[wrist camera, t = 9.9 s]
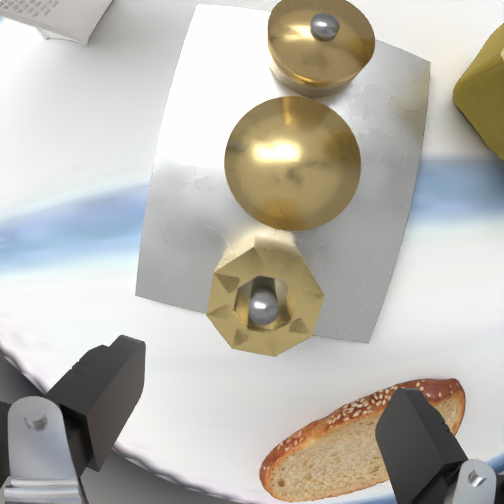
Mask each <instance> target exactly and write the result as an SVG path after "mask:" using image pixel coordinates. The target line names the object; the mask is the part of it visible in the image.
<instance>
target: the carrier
mask: <svg viewBox="0 0 504 504" xmlns="http://www.w3.org/2000/svg"><path fill="white" fill-rule="evenodd" d="M429 79H430V62H429V61H426V60H424V59H422V58H420V57H418V56H416V55H413V54H411V53H409V52H406V51H404V50H402V49H399V48H397V47H394V46H392V45H389V44H387V43H384V42H381V41H378V40H376V39H375V36H374V32H373V29H372V27H371V25H370V23H369V21H368V20H367V18H366V17H365V16H364V14H363V13H362V12H361V11H360V10H359V9H357V8H356V7H355V6H354V5H352V4H351V3H349V2H348V1H346V0H282V1H280V2H279V3H278V4H277V5H276V6H275V7H274V8H273V10H272V12H267V11H260V10H253V9H245V8H236V7H226V6H213V5H197V8H196V11H195V13H194V16H193V19H192V22H191V25H190V28H189V31H188V34H187V37H186V40H185V43H184V46H183V49H182V52H181V55H180V59H179V62H178V65H177V69H176V72H175V76H174V79H173V83H172V87H171V90H170V94H169V98H168V102H167V106H166V110H165V114H164V118H163V122H162V126H161V131H160V135H159V140H158V144H157V149H156V154H155V159H154V164H153V169H152V174H151V180H150V185H149V191H148V197H147V203H146V209H145V216H144V223H143V230H142V237H141V245H140V253H139V262H138V272H137V282H136V294H135V296H139V297H143V298H146V299H150V300H154V301H158V302H162V303H165V304H169V305H173V306H177V307H181V308H186V309H190V310H194V311H198V312H202V313H207V307H208V301H209V295H210V290H211V284H212V278H213V273H214V271H215V269H216V267H217V265H218V264H219V262H220V260H221V258H222V256H223V255H225V254H226V253H228V252H229V251H231V250H232V249H234V248H236V247H237V246H239V245H240V244H242V243H243V242H245V241H246V240H248V239H250V238H251V237H253V236H254V235H259V236H264V237H269V238H274V239H278V240H283V241H288V242H292V243H294V244H295V245H296V247H297V248H298V250H299V251H300V253H301V255H302V256H303V258H304V259H305V261H306V263H307V264H308V266H309V267H310V269H311V271H312V272H313V274H314V276H315V277H316V279H317V281H318V283H319V285H320V287H321V289H322V291H323V292H324V294H325V296H324V300H323V303H322V307H321V310H320V313H319V316H318V320H317V323H316V326H315V329H314V333H313V335H317V336H323V337H330V338H336V339H342V340H349V341H356V342H363V343H368V342H369V340H370V337H371V335H372V332H373V329H374V327H375V324H376V321H377V318H378V316H379V313H380V310H381V307H382V304H383V301H384V298H385V295H386V292H387V289H388V286H389V283H390V280H391V277H392V274H393V270H394V267H395V264H396V260H397V257H398V253H399V250H400V246H401V242H402V239H403V235H404V231H405V227H406V223H407V219H408V215H409V211H410V206H411V202H412V197H413V192H414V188H415V183H416V178H417V172H418V167H419V161H420V155H421V149H422V143H423V136H424V129H425V121H426V112H427V103H428V92H429ZM239 289H240V291H241V292H242V293H243V295H244V296H245V298H246V299H247V300H248V302H249V316H250V318H251V320H252V321H253V322H254V323H256V324H259V325H268V324H271V323H272V322H274V321H275V319H276V318H277V316H278V304H277V303H278V302H280V301H281V300H283V299H285V298H286V297H287V293H288V289H289V287H288V285H287V284H286V282H285V281H284V280H280V279H275V278H270V277H265V276H261V275H258V276H257V277H255V278H254V279H252V280H250V281H249V282H247V283H246V284H244V285H242V286H241V287H239Z"/></svg>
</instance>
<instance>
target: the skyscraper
mask: <svg viewBox="0 0 504 504" xmlns="http://www.w3.org/2000/svg"><path fill="white" fill-rule="evenodd" d="M111 2H112V0H0V16H2V17H5V18H8V19H11V20H14V21H17V22H20V23H23V24H27V25H30V26H33V27H36V29H37V30H38V31H39V33H40V34H41V35H42V37H43V38H44V39H45V40H47V39H48V38H54V39H64V40H72V41H77V42H79V43H82V44H86V45H87V44H88V42H89V41H88V39H89V37H90V35H91V34H92V32H93V30H94V29H95V27H96V25H97V24H98V22H99V20H100V19H101V17H102V16H103V14H104V12H105V11H106V9H107V8H108V6H109V5H110V3H111Z"/></svg>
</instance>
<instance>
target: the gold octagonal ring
mask: <svg viewBox="0 0 504 504" xmlns="http://www.w3.org/2000/svg"><path fill="white" fill-rule="evenodd" d="M258 275H261V276H265V277H270V278H275V279H280V280H284V281H285V282H286V284H287V285H288V287H289V289H288V293H287V297H286V298H285V299H283V300H281V301H280V302H278V303H277V304H278V316H277V318H276V319H275V321H274V322H272V323H271V324H268V325H259V324H256V323H254V322H253V321H252V320H251V318H250V316H249V302H248V300H247V299H246V298H245V296H244V295H243V293H242V292H241V291H240V289H239V287H241V286H242V285H244V284H246V283H247V282H249V281H250V280H252V279H254V278H255V277H257V276H258ZM324 296H325V294H324V292H323V291H322V289H321V287H320V285H319V283H318V281H317V279H316V277H315V276H314V274H313V272H312V271H311V269H310V267H309V266H308V264H307V263H306V261H305V259H304V258H303V256H302V255H301V253H300V251H299V250H298V248H297V247H296V245H295V244H294V243H292V242H288V241H283V240H278V239H274V238H269V237H264V236H259V235H254V236H253V237H251V238H250V239H248V240H246V241H245V242H243V243H242V244H240V245H239V246H237V247H236V248H234V249H232V250H231V251H229V252H228V253H226V254H225V255H223V256H222V258H221V260H220V262H219V264H218V265H217V267H216V269H215V271H214V273H213V278H212V284H211V290H210V295H209V301H208V307H207V313H206V315H207V317H208V318H209V319H210V321H211V322H212V323H213V325H214V326H215V327H216V329H217V330H218V331H219V332H220V334H221V335H222V336H223V338H224V339H225V340H226V341H227V343H228V344H229V345H230V347H231V348H232V349H237V350H242V351H247V352H252V353H257V354H263V355H268V356H274V357H275V356H277V355H279V354H281V353H282V352H284V351H286V350H288V349H290V348H292V347H293V346H295V345H297V344H299V343H300V342H302V341H304V340H306V339H308V338H309V337H311V336H313V333H314V329H315V326H316V323H317V320H318V316H319V313H320V310H321V307H322V303H323V300H324Z"/></svg>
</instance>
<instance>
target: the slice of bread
mask: <svg viewBox="0 0 504 504" xmlns="http://www.w3.org/2000/svg"><path fill="white" fill-rule="evenodd" d="M398 388H417V389H420V390H421V391H422V393H423V394H424V396H425V397H426V399H427V401H428V402H429V403H430V404H431V405H432V406H433V407H434V408H435V409H436V410H438V411H439V412H440V414H441V415H442V417H443V419H444V420H445V424H447V425H448V427H449V428H450V432H452V433H453V435H454V436H455V435H456V433H457V431H458V429H459V426H460V424H461V422H462V419H463V416H464V412H465V393H464V390H463V388H462V386H461V385H460V383H459V382H458V381H457V380H456V379H448V380H434V379H422V380H415V381H409V382H405V383H401V384H397V385H394V386H392V387H390V388H387V389H384V390H380V391H378V392H375V393H373V394H371V395H369V396H366V397H363V398H361V399H358V400H356V401H354V402H352V403H348V404H346V405H344V406H342V407H341V408H339V409H337V410H336V411H334V412H333V413H332V414H330V415H329V416H327V417H325V418H323V419H320V420H317V421H314V422H312V423H310V424H308V425H307V426H306V427H304V428H302V429H301V430H299V431H297V432H295V433H294V434H293V435H291V436H290V437H288V438H287V439H286V440H284V441H283V442H281V443H280V444H279V445H277V446H276V447H275V448H274V449H273V450H272V451H271V452H270V454H269V455H268V456H267V457H266V459H265V460H264V461H263V463H262V465H261V468H260V480H261V482H262V485H263V487H264V489H265V490H266V491H267V492H269V493H270V494H271V496H273V497H274V498H276V499H279V500H282V501H286V502H291V503H292V502H300V501H309V500H312V501H314V500H319V499H324V498H327V497H329V498H330V497H337V496H340V495H343V494H348V493H352V492H354V491H358V490H362V489H365V488H368V487H372V486H374V485H376V484H378V483H383V482H385V481H387V480H389V476H388V473H387V470H386V467H385V464H384V461H383V458H382V455H381V452H380V450H379V447H378V444H377V441H376V438H375V429H376V425H377V422H378V420H379V418H380V417H381V415H382V413H383V411H384V410H385V408H386V406H387V404H388V402H389V400H390V399H391V397H392V395H393V393H394V391H395V390H396V389H398Z"/></svg>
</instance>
